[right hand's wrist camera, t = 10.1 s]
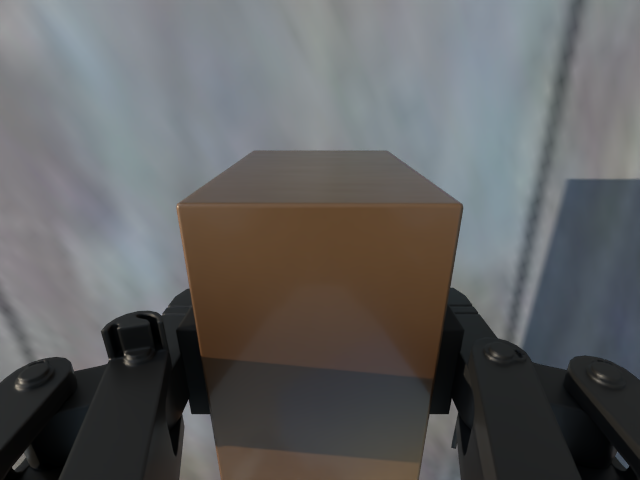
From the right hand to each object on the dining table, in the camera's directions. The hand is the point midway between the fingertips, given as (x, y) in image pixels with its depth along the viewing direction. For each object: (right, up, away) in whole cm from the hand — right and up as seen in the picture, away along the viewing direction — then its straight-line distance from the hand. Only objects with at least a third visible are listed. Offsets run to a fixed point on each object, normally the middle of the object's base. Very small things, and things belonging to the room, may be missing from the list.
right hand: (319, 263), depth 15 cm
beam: (0, -23, +10) cm, 25 cm away
